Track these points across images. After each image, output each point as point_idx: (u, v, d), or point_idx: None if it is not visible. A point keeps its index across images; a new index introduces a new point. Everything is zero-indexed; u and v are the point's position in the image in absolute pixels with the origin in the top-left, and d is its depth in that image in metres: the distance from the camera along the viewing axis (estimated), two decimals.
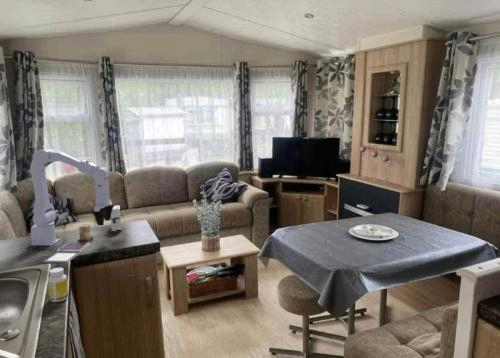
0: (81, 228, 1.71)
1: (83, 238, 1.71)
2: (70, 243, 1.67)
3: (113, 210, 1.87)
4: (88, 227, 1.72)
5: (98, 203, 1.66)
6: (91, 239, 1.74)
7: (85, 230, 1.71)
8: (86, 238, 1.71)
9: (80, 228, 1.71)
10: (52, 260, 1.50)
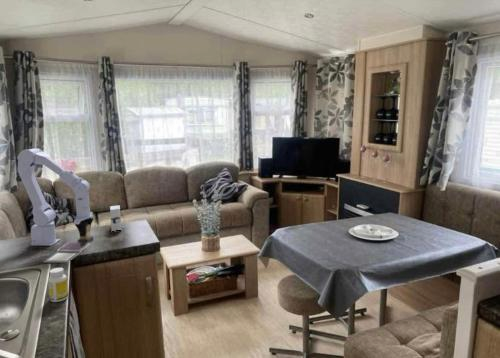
0: None
1: (83, 238, 1.71)
2: (70, 243, 1.67)
3: (113, 210, 1.87)
4: (88, 227, 1.72)
5: (78, 216, 1.69)
6: (91, 239, 1.74)
7: None
8: (86, 238, 1.71)
9: None
10: (52, 260, 1.50)
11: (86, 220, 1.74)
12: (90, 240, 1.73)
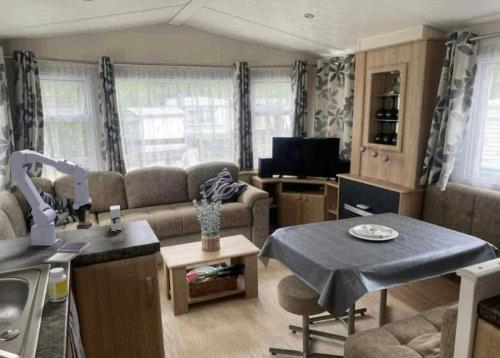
0: None
1: (82, 223, 1.70)
2: (70, 243, 1.67)
3: (113, 210, 1.87)
4: (87, 212, 1.71)
5: (77, 201, 1.67)
6: (90, 225, 1.73)
7: None
8: (85, 223, 1.70)
9: None
10: (52, 260, 1.50)
11: (85, 206, 1.73)
12: (89, 226, 1.72)
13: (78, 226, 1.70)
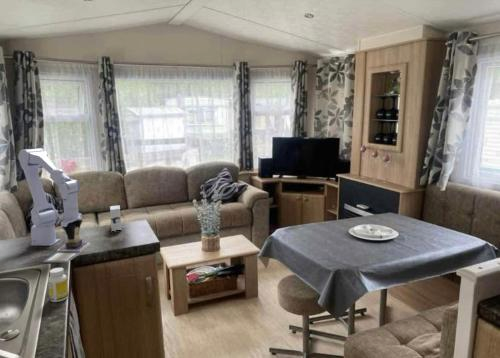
0: None
1: (71, 241, 1.62)
2: None
3: (113, 210, 1.87)
4: (77, 229, 1.63)
5: (66, 218, 1.60)
6: (80, 242, 1.65)
7: None
8: (74, 241, 1.62)
9: None
10: (52, 260, 1.50)
11: (74, 222, 1.65)
12: (79, 243, 1.64)
13: (67, 244, 1.62)
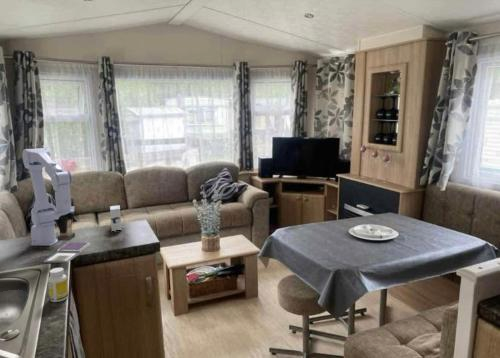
0: None
1: (63, 234, 1.55)
2: (70, 243, 1.67)
3: (113, 210, 1.87)
4: (69, 222, 1.57)
5: (58, 210, 1.53)
6: (73, 235, 1.58)
7: None
8: (67, 234, 1.56)
9: None
10: (52, 260, 1.50)
11: (67, 215, 1.58)
12: (71, 237, 1.57)
13: (59, 237, 1.55)
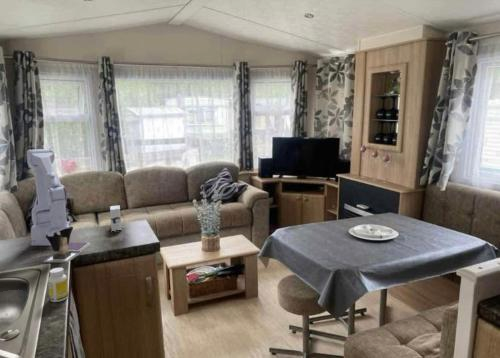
0: None
1: (59, 253, 1.52)
2: (70, 243, 1.67)
3: (113, 210, 1.87)
4: (65, 240, 1.53)
5: (53, 226, 1.49)
6: (68, 254, 1.55)
7: (61, 244, 1.51)
8: (62, 253, 1.52)
9: None
10: (52, 260, 1.50)
11: (65, 229, 1.56)
12: (67, 255, 1.54)
13: (54, 256, 1.52)
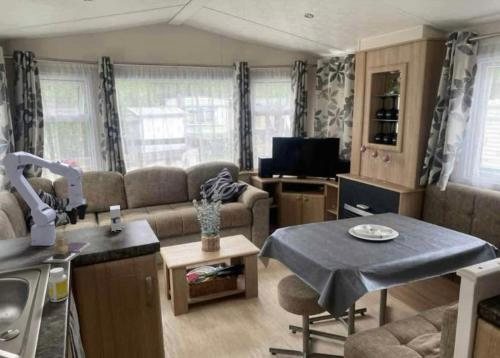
0: (56, 241, 1.51)
1: (59, 253, 1.52)
2: (70, 243, 1.67)
3: (113, 210, 1.87)
4: (65, 240, 1.53)
5: (71, 202, 1.67)
6: (68, 254, 1.55)
7: (61, 244, 1.51)
8: (62, 253, 1.52)
9: (55, 241, 1.51)
10: (52, 260, 1.50)
11: (81, 206, 1.74)
12: (67, 255, 1.54)
13: (54, 256, 1.52)
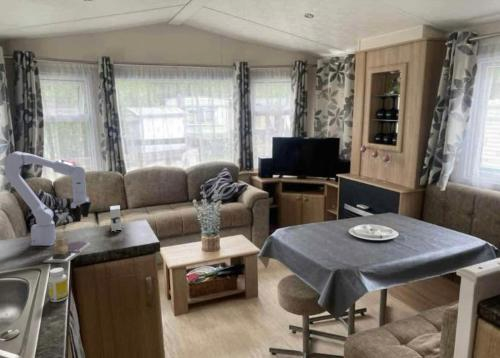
0: (56, 241, 1.51)
1: (59, 253, 1.52)
2: (70, 243, 1.67)
3: (113, 210, 1.87)
4: (65, 240, 1.53)
5: (75, 200, 1.72)
6: (68, 254, 1.55)
7: (61, 244, 1.51)
8: (62, 253, 1.52)
9: (55, 241, 1.51)
10: (52, 260, 1.50)
11: (84, 204, 1.78)
12: (67, 255, 1.54)
13: (54, 256, 1.52)
